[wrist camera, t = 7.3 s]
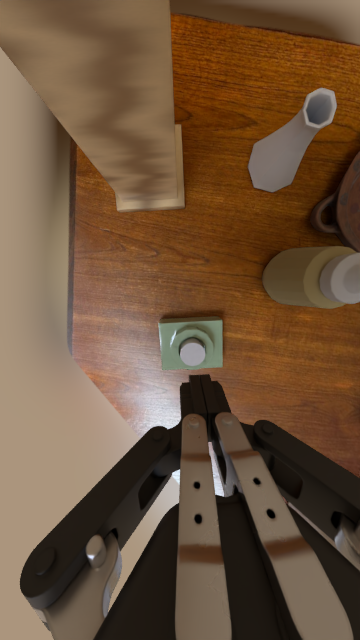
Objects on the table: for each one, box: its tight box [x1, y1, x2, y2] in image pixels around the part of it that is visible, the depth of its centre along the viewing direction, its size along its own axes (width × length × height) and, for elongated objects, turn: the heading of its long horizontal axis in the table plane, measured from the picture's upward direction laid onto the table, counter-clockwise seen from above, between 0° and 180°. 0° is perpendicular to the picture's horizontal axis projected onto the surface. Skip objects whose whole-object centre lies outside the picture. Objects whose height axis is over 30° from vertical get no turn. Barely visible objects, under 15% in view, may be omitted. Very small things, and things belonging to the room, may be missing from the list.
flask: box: [248, 88, 337, 192], centre depth 23 cm, size 7×7×10 cm
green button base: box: [159, 316, 223, 370], centre depth 32 cm, size 10×8×5 cm
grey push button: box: [180, 338, 205, 366], centre depth 29 cm, size 4×4×2 cm
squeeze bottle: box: [262, 246, 360, 309], centre depth 23 cm, size 8×8×18 cm
